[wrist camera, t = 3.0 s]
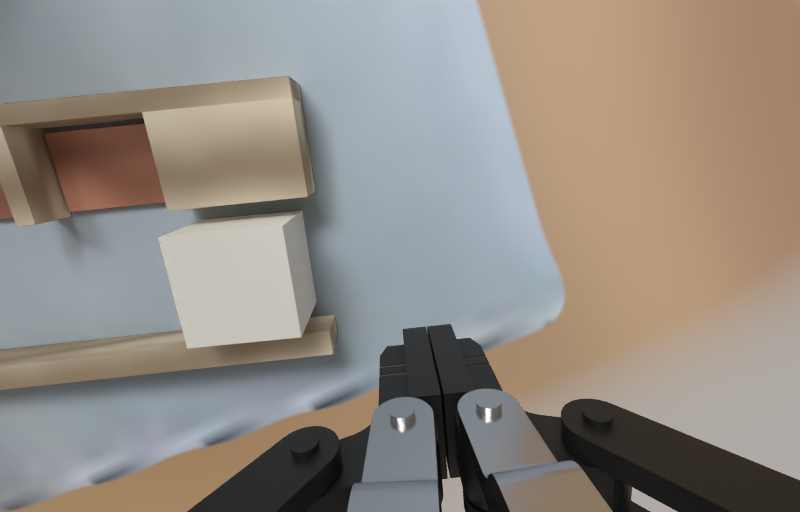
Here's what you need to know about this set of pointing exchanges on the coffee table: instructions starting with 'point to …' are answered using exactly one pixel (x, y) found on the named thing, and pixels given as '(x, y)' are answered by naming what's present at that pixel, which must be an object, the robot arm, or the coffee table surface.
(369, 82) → the coffee table surface
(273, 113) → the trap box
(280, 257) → the cream block
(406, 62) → the coffee table surface
